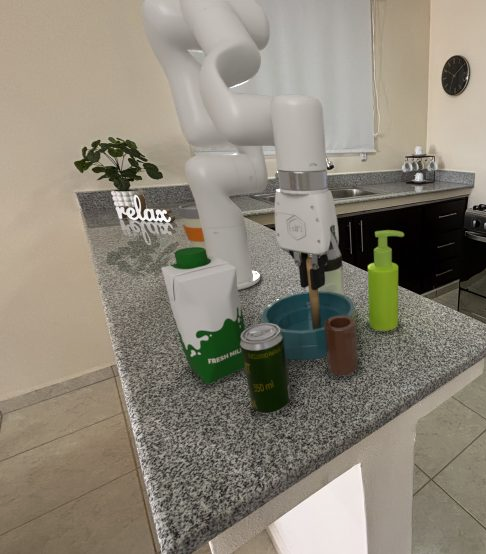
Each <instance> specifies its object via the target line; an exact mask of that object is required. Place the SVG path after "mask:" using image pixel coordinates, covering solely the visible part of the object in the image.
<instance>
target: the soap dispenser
mask: <svg viewBox="0 0 486 554" xmlns="http://www.w3.org/2000/svg"><path fill="white" fill-rule="evenodd" d="M374 236H375V238H378V239H377V246H376V247H375V248H373V262H371V263H369V264H367V283H368V284H367V290H368V292H367V293H368V322H369V324H368V325H369V327H370V328H372V329H373V330H375V331H379V332H380V331H381V332H385V331H391V330H393V329H395V328H397V327H398V325H399V265H398V264H397V263H395V262H393V250H392V248H391V247H390V246H388V237H399V238H403V237H404V236H405V233H404V232H403V231H400V230H393V229H392V230H391V229H385V230H384V229H383V230H376V231H374Z"/></svg>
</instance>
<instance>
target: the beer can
mask: <svg viewBox="0 0 486 554" xmlns="http://www.w3.org/2000/svg"><path fill="white" fill-rule="evenodd" d="M240 347H241V353H242V358H243V363H244V368H243V369H244V373H245V378H246V382H247V388H248V394H249V400H250V403H251V407H252V409H253V410H254V411H255V412H256V413H259V414H263V415H265V414H266V415H269V414H273V413H277V412H279V411H282V410H283V409H284V408H286V407H287V405H289V403H290V401H291V399H292V391H291V382H290V377H289V370H288V363H287V359H286V354H285V346H284V339H283V334H282V333H281V331H280V327H279V326H277V325H275V324H271V323H263V324H262V323H258V324H254V325H251V326H249V327H247V328H245V330H244V331H243V332H242V333H241V341H240Z"/></svg>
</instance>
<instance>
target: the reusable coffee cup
mask: <svg viewBox="0 0 486 554" xmlns="http://www.w3.org/2000/svg"><path fill="white" fill-rule="evenodd" d="M178 212H179V213H178V214H179V217H180V218H181V220H182V223H183V224H182V227H183V230H184V232H185V234H186V237H187V239H188V241H190V244H191V247H201V248H205V250H206V246H205V241H204V237H203V232H202V227H201V223H200V218H199V214H198V210H197V206H196V203H195V202H192V203H190V202H189V203H186V204H185V203H184V204H182V205H179V206H178ZM206 254H207V251H206ZM207 257H208V255H207Z"/></svg>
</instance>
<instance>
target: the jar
mask: <svg viewBox="0 0 486 554" xmlns="http://www.w3.org/2000/svg"><path fill="white" fill-rule="evenodd" d="M327 253H329V250H328V251H327ZM310 257H311V254H310ZM319 258H320V256H319ZM324 271H325V285H323V286H322V287H320V288H318V291H326V292H334V293H338V294H341V295H344V296H346V295H345V277H344V263H343V255H342V253H341V256H340V257H338V258H336V259H334V260H330V261H328V262H327V264H326V265H324ZM304 289H305V292H309V286H307V287H305V288H304Z"/></svg>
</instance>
